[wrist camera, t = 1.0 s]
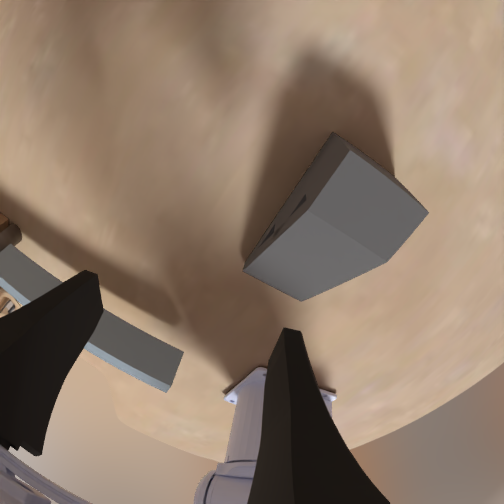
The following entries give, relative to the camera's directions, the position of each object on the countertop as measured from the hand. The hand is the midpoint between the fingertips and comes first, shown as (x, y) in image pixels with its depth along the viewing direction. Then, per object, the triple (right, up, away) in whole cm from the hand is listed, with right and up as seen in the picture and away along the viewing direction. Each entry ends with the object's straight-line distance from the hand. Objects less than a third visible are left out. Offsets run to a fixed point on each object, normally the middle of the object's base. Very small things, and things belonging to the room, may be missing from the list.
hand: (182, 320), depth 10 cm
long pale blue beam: (-12, -2, +11) cm, 16 cm away
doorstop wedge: (+6, +4, +7) cm, 10 cm away
